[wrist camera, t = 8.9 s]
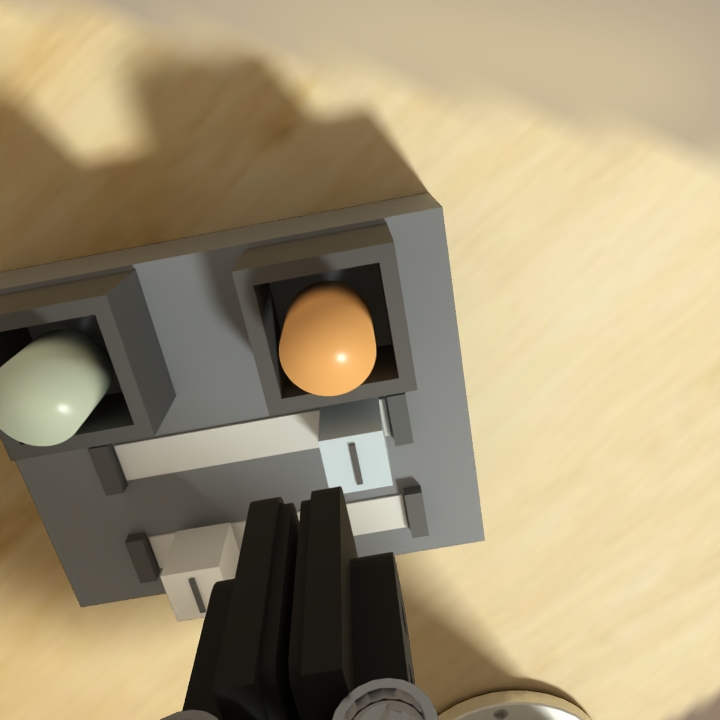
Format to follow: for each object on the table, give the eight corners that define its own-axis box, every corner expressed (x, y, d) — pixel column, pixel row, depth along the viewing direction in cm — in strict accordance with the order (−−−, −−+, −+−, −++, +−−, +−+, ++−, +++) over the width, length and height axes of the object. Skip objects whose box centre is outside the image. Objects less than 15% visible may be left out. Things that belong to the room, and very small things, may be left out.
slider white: (243, 565, 30) (233, 614, 28) (191, 573, 30) (176, 623, 28) (230, 522, 29) (218, 568, 27) (176, 531, 30) (159, 578, 27)
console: (469, 492, 35) (502, 592, 28) (107, 553, 35) (51, 665, 28) (428, 192, 28) (457, 224, 21) (-7, 273, 29) (-115, 329, 22)
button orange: (378, 353, 24) (383, 387, 22) (295, 368, 25) (290, 403, 22) (363, 273, 23) (367, 297, 20) (277, 289, 23) (269, 315, 21)
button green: (123, 399, 25) (96, 437, 22) (43, 413, 25) (6, 453, 22) (96, 322, 24) (63, 352, 21) (12, 337, 24) (-31, 369, 21)
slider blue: (387, 446, 28) (393, 486, 25) (331, 456, 28) (330, 497, 25) (377, 396, 27) (382, 431, 24) (319, 406, 27) (317, 442, 24)
